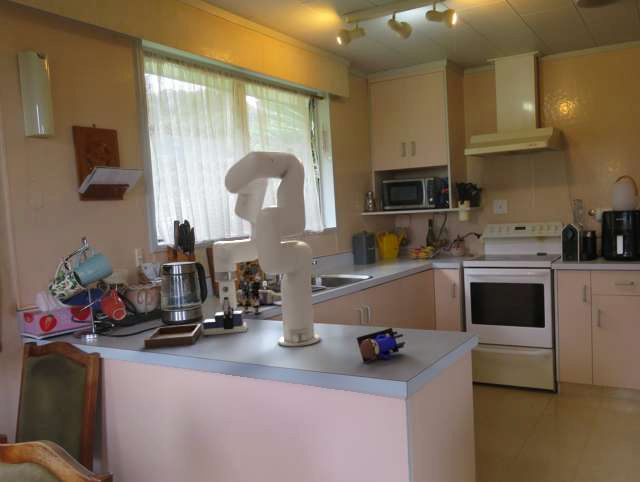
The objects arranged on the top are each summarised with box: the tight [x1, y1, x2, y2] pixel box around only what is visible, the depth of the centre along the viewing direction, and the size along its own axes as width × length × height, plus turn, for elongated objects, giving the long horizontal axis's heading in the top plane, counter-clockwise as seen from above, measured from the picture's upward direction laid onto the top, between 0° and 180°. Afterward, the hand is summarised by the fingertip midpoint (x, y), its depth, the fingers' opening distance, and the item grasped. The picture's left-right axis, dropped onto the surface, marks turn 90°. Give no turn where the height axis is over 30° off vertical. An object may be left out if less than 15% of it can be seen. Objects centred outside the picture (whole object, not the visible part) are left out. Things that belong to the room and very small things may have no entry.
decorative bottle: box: [236, 289, 281, 306], centre depth 245 cm, size 26×8×7 cm, turn 68°
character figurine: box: [356, 327, 406, 363], centre depth 144 cm, size 8×7×15 cm
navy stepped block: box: [202, 310, 247, 336], centre depth 190 cm, size 6×14×6 cm, turn 100°
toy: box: [237, 261, 263, 316], centre depth 222 cm, size 14×9×25 cm, turn 47°
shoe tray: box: [143, 323, 203, 350], centre depth 181 cm, size 20×15×3 cm
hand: (229, 326), depth 190 cm, fingers closed on navy stepped block, 6 cm apart
